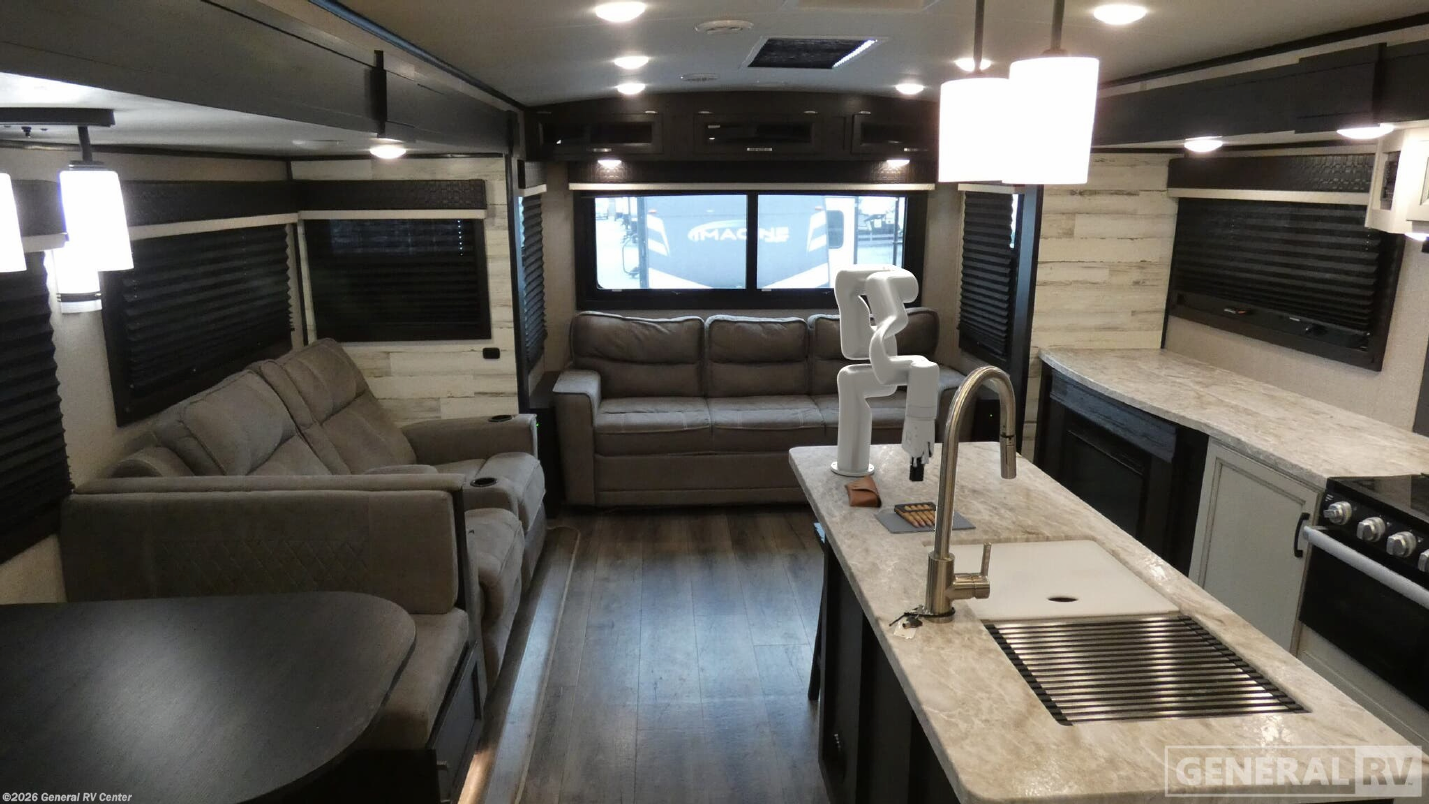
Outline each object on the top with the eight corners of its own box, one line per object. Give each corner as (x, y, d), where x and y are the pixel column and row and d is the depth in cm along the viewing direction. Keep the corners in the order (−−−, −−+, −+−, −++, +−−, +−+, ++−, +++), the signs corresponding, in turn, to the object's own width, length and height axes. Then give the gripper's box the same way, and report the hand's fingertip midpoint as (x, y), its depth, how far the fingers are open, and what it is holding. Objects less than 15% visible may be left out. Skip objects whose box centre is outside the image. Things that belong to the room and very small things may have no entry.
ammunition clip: (932, 501, 232) (955, 520, 221) (932, 508, 232) (954, 527, 221) (894, 504, 229) (915, 523, 218) (893, 511, 230) (914, 530, 219)
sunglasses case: (842, 484, 251) (855, 465, 250) (863, 496, 252) (876, 477, 250) (849, 507, 234) (863, 486, 232) (871, 520, 234) (886, 500, 233)
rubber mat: (873, 515, 228) (873, 514, 228) (954, 511, 232) (954, 509, 232) (891, 533, 217) (891, 532, 217) (975, 528, 221) (975, 526, 221)
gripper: (895, 404, 230) (891, 472, 235) (919, 419, 216) (914, 490, 221) (922, 403, 232) (918, 470, 236) (948, 417, 218) (942, 489, 222)
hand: (916, 480), depth 228 cm, fingers closed
